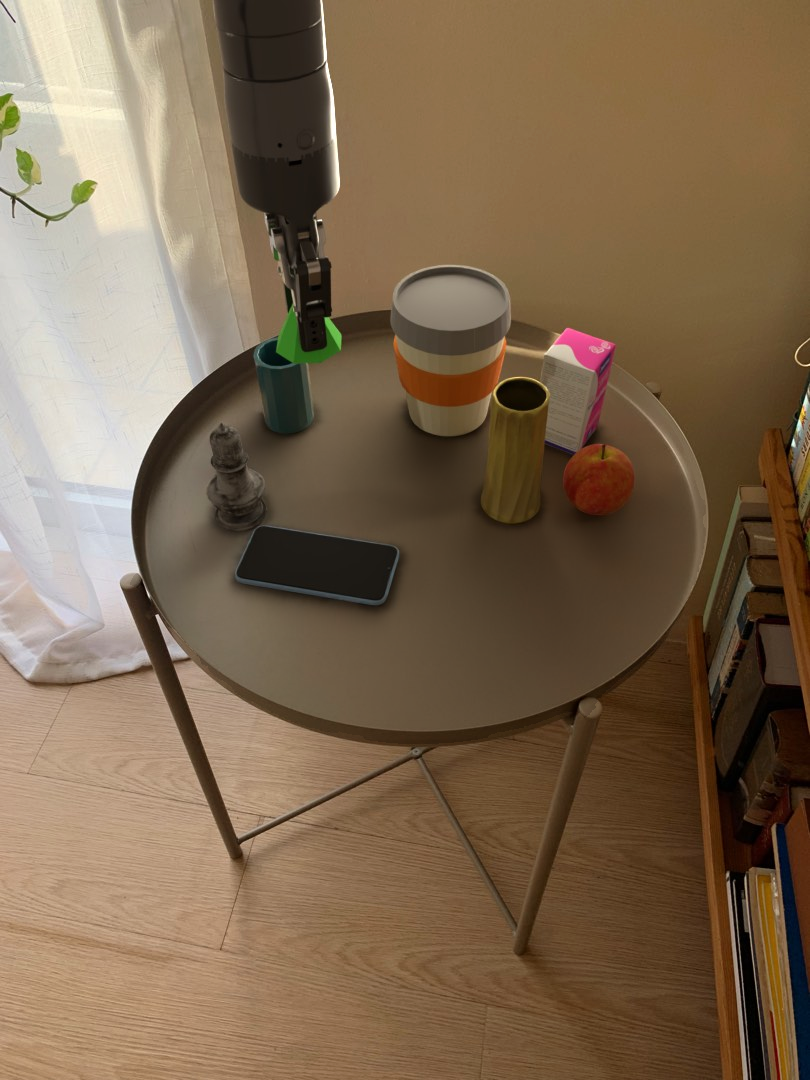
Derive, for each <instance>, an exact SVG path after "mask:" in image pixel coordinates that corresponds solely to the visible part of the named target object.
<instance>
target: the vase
mask: <svg viewBox="0 0 810 1080" xmlns="http://www.w3.org/2000/svg"><path fill="white" fill-rule="evenodd" d="M549 400H550V393H549V391H548V389H547V388H546V387H545V386H544V385H543V384H542V383H540V381H538V380H536V379H534V378H531V377H526V376H515V377H509V378H506V379H504V380H502V381H501V382H498V383H497V385H496V387H495V389H494V390H493V391H492V394H491V400H490V402H491V403H490V414H489V415H490V417H489V418H490V419H489V431H488V432H489V433H488V446H487V447H488V449H487V463H486V468H485V469H486V470H485V475H484V481H483V489H482V492H481V496H480V505H481V507H482V509H483V512H485V514H486V515H487V516H489V517H490V518H491V519H493V520H495V521H497V522H500V523H504V524H521V523H525V522H527V521H528V520H531V519H532V518H533V517H534V516H536V515H537V513H538V512H539V510H540V508H541V507H540V506H541V486H542V471H543V459H544V452H545V444H544V443H545V433H546V423H547V416H548V406H549Z"/></svg>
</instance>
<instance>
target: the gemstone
mask: <svg viewBox="0 0 810 1080" xmlns="http://www.w3.org/2000/svg"><path fill="white" fill-rule="evenodd" d="M293 306H294V304H292V306H291V308H290V311H289V313H287V315H286V318H285V319H284V322H283V325H282V327H281V329H280V331H279V334H278V336H277V338H278V342H277V349H276V352H277V353H278V354H280V355H281V356H283V357H284V358H286V359H287V360H289V361H291V362H292V363H308V364H321V363H323V362H325V361H326V360H328V359H330V358H331V357H333V356H334V355H336V354H338V353H339V352H341V351H342V336H343V335H342V333H341V332H340V331H339V329H338V328H337V327H336V326H335V324H334V322H333V321H332V319H330V317H326V318H325V327H326V337H327V346H326V347H325V348H324V349H321V350H316V351H311V352H304V351H302V349H301V346H300V343H299V335H298V328H297V320H296V313H295V312H294V311H293Z"/></svg>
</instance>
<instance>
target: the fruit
mask: <svg viewBox="0 0 810 1080" xmlns="http://www.w3.org/2000/svg"><path fill="white" fill-rule="evenodd" d="M562 485H563V490H564V493H565V496H566V497H567V499H568V501H569V502H570V503H571V504H572V505H573V506H574V507H575V508H576V509H577V510H579V511H580V512H582V513H585V514H589V515H593V516H608V515H610V514H612V513H615V512H617V511H618V510H620V509H621V508H622V507H623V506H624V505H626V503H627V502H628V501H629V499H630V497H631V495H632V493H633V490H634V487H635V472H634V467H633V464H632V461H631V460H630V459H629V457H628V456H627V455H626V454H625V453H624V452H623V451H621V450H620V449H618V448H616V447H615V446H611V445H608V444H605V443H594V444H590V445H587V446H583V447H582V449H580V450H579V451H578V452H576V453H575V454H574V455H572V456H571V458H570V459H569V461H568V462H567V464H566V466H565V468H564V471H563V477H562Z"/></svg>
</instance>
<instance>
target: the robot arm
mask: <svg viewBox="0 0 810 1080" xmlns="http://www.w3.org/2000/svg"><path fill="white" fill-rule="evenodd" d="M212 9H213V15H214V22H215V28H216V34H217V41H218V46H219V53H220V58H221V59H220V60H221V65H222V76H223V98H224V99H223V100H224V107H225V114H226V120H227V125H228V132H229V137H230V144H231V149H232V150H231V151H232V155H233V157H232V158H233V162H234V168H235V174H236V175H235V176H236V180H237V187H238V192H239V195H240V198H241V199H242V201H243V202H244V203H245V204H246V205H248V207H250V208H252V209H253V210H256V211H258V212H261V213H264V215H263V216H264V223H265V227H266V230H267V233H268V236H269V245H270V249H271V253H272V257H273V259H274V260H275V261H277V273H278V274H279V276H280V278H281V280H282V287H283V293H284V294H283V295H284V301H285V302H284V303H285V308H286V312H287V314H288V313H289V311H290V308H291V306H292V304H294V306H293V311H294V312H295V313H296V320H297V328H298V335H299V343H300V346H301V349H302V351H304V352H311V351H316V350H321V349H324V348H325V347H326V346H327V337H326V327H325V318H326V317H328V318H331V317H332V312H333V307H332V262H331V260H330V259H329V257H328V256H326V253H325V244H326V242H327V238H326V232H325V227H324V223H323V220H322V219H318V215H317V212H318V211H319V210H320V209H321V208H323V207H324V206H325V205H328V204H329V203H331V201H333V200H334V198H336V196H337V194H338V192H339V190H340V186H341V181H340V180H341V179H340V167H339V154H338V153H339V152H338V141H337V140H338V139H337V129H336V128H337V127H336V115H335V100H334V92H333V86H332V82H331V78H330V77H331V76H330V72H329V67H328V66H329V65H328V59H327V45H326V32H325V20H324V7H323V0H212Z"/></svg>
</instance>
